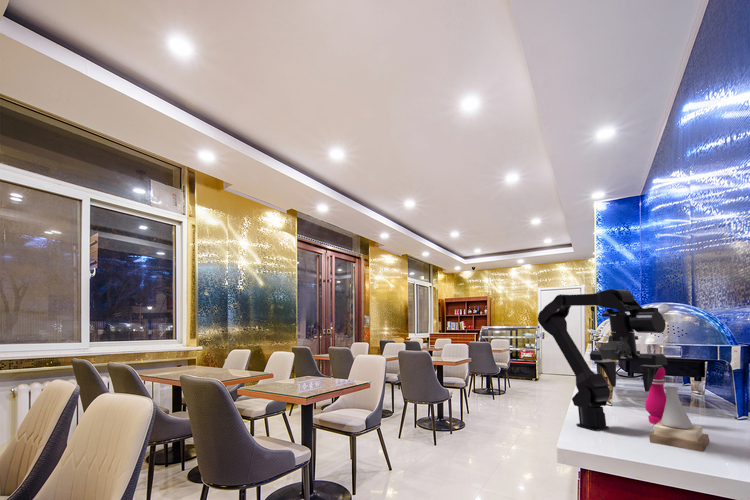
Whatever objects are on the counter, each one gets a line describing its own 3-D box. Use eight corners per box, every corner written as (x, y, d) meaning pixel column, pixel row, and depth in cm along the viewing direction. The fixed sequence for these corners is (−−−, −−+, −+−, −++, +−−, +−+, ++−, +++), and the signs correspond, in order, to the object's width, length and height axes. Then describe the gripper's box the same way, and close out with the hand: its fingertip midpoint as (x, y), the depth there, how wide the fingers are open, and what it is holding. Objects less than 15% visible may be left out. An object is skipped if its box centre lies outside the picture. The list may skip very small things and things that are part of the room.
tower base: (649, 442, 101) (647, 426, 102) (659, 434, 109) (656, 419, 110) (703, 451, 94) (700, 434, 94) (709, 442, 101) (706, 426, 102)
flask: (698, 426, 101) (692, 387, 103) (688, 431, 97) (682, 390, 99) (666, 421, 107) (661, 384, 109) (655, 425, 103) (650, 386, 105)
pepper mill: (670, 421, 123) (660, 357, 127) (679, 427, 116) (669, 359, 120) (643, 419, 125) (635, 356, 129) (651, 425, 118) (642, 358, 122)
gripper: (574, 332, 115) (580, 386, 112) (638, 333, 98) (647, 397, 95) (599, 331, 120) (605, 383, 117) (664, 333, 103) (673, 393, 100)
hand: (629, 389), depth 107 cm, fingers open, 9 cm apart
